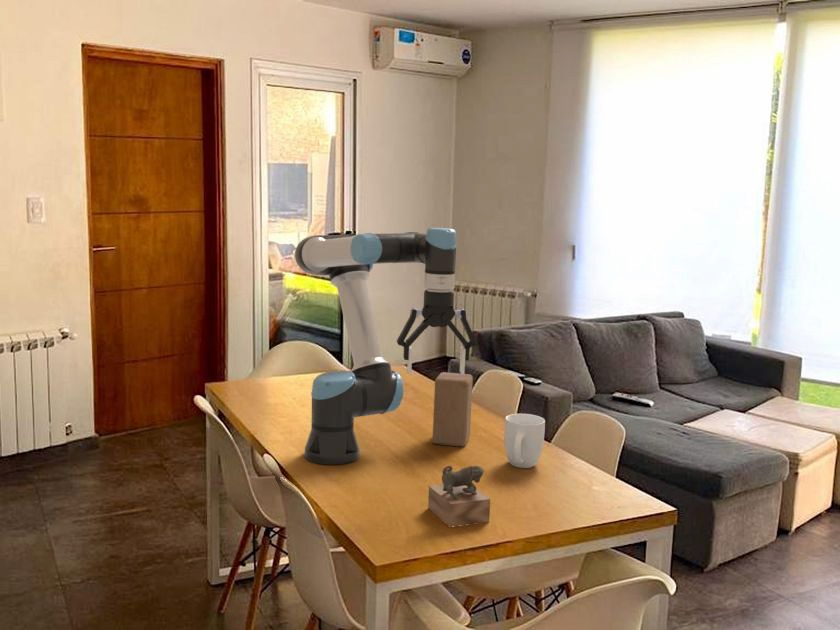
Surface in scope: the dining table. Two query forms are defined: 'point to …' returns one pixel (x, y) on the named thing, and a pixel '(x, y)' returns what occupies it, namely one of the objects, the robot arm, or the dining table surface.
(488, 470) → the dining table surface
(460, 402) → the wooden block
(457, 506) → the walnut block
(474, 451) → the dining table surface
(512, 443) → the mug
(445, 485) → the grey animal figure
